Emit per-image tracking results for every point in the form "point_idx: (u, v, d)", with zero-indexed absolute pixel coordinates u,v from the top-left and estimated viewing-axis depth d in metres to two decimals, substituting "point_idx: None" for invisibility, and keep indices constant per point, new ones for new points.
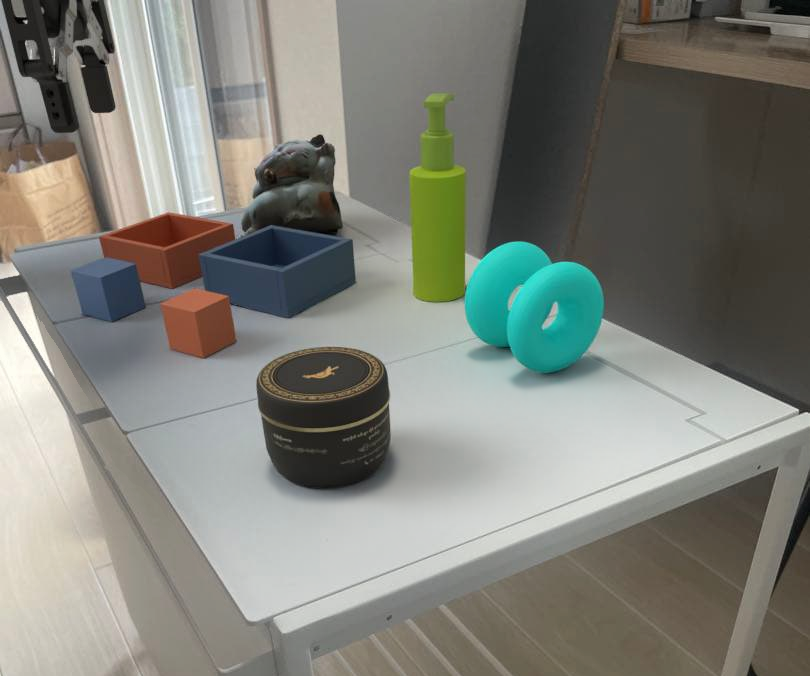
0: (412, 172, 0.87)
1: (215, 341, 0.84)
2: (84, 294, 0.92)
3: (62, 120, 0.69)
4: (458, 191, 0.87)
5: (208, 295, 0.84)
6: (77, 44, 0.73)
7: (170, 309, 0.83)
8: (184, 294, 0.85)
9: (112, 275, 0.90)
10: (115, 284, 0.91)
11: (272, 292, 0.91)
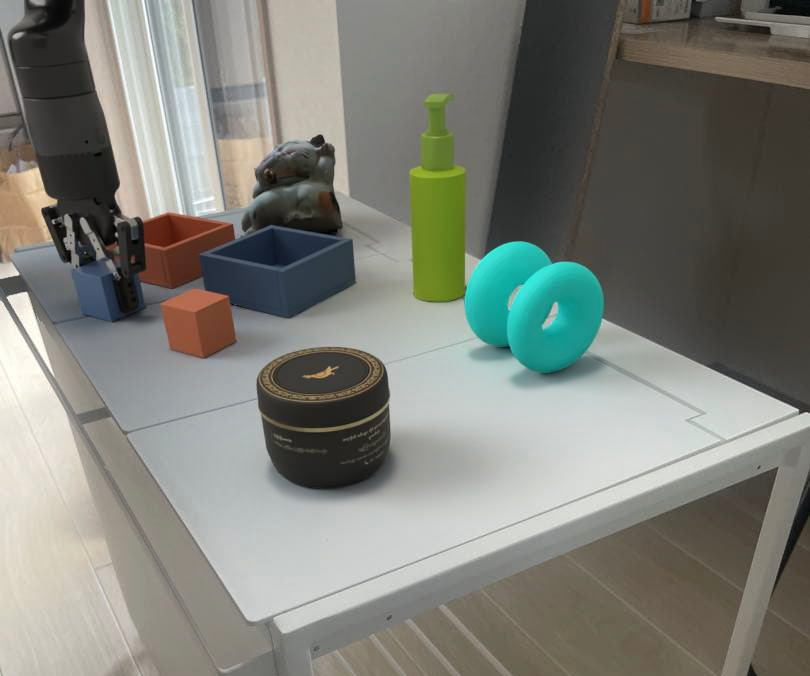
0: (412, 172, 0.87)
1: (215, 341, 0.84)
2: (84, 294, 0.92)
3: (137, 301, 0.93)
4: (458, 191, 0.87)
5: (208, 295, 0.84)
6: (84, 250, 0.92)
7: (170, 309, 0.83)
8: (184, 294, 0.85)
9: None
10: None
11: (272, 292, 0.91)
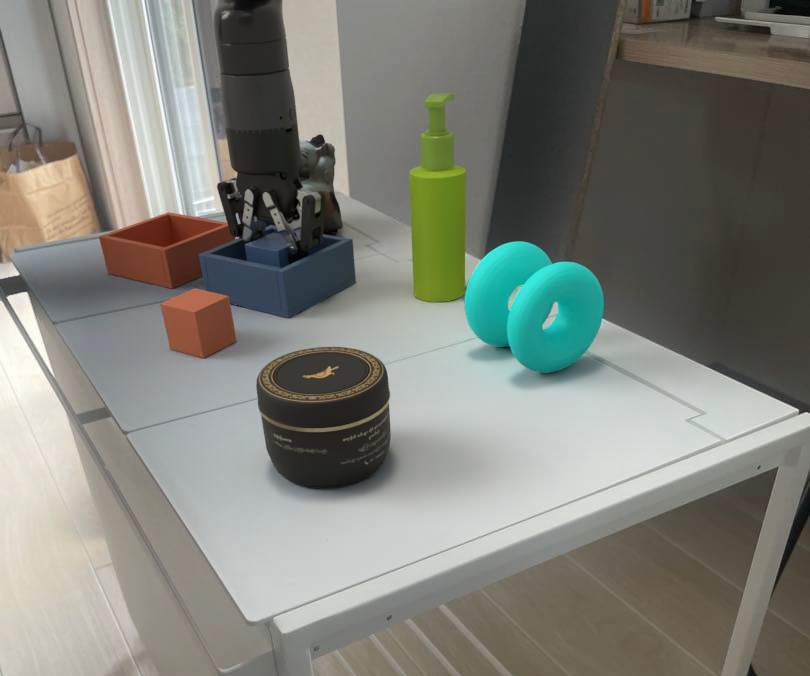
0: (412, 172, 0.87)
1: (215, 341, 0.84)
2: None
3: None
4: (458, 191, 0.87)
5: (208, 295, 0.84)
6: (257, 225, 0.94)
7: (170, 309, 0.83)
8: (184, 294, 0.85)
9: (287, 249, 0.93)
10: (288, 258, 0.94)
11: (272, 292, 0.91)
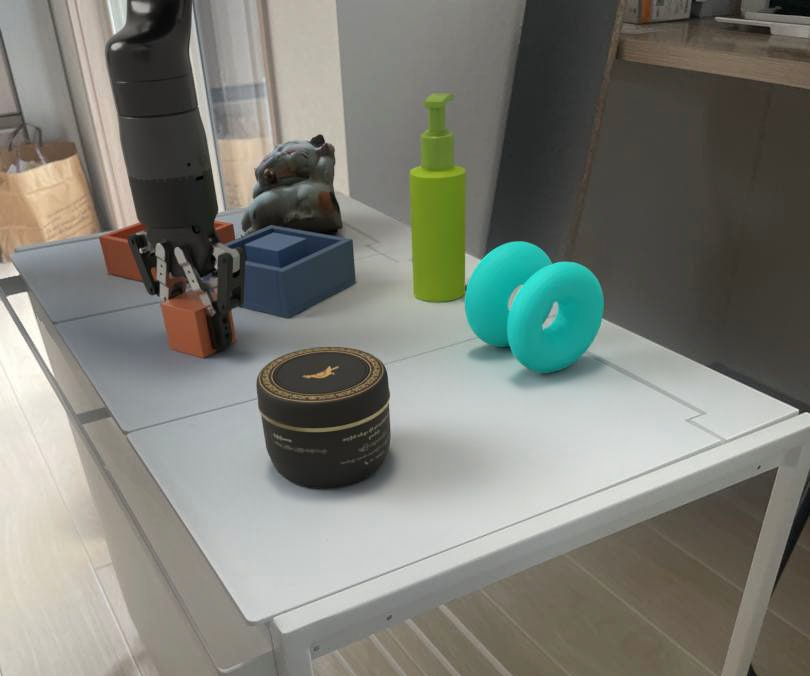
0: (412, 172, 0.87)
1: None
2: None
3: (230, 338, 0.84)
4: (458, 191, 0.87)
5: None
6: (174, 282, 0.83)
7: (170, 309, 0.83)
8: (184, 294, 0.85)
9: (287, 249, 0.93)
10: (288, 258, 0.94)
11: (272, 292, 0.91)
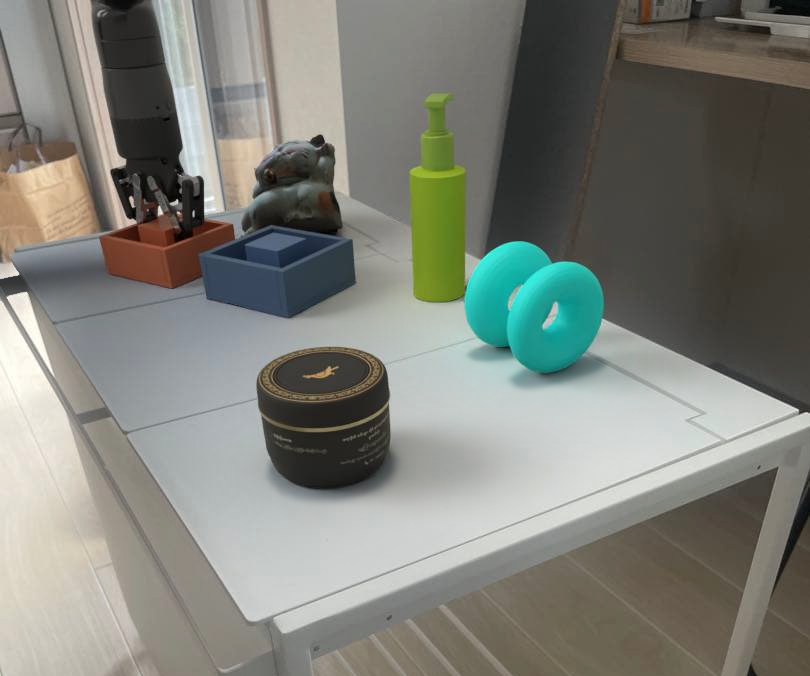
0: (412, 172, 0.87)
1: None
2: None
3: None
4: (458, 191, 0.87)
5: None
6: (148, 207, 1.03)
7: (145, 230, 1.02)
8: (157, 219, 1.05)
9: (287, 249, 0.93)
10: (288, 258, 0.94)
11: (272, 292, 0.91)
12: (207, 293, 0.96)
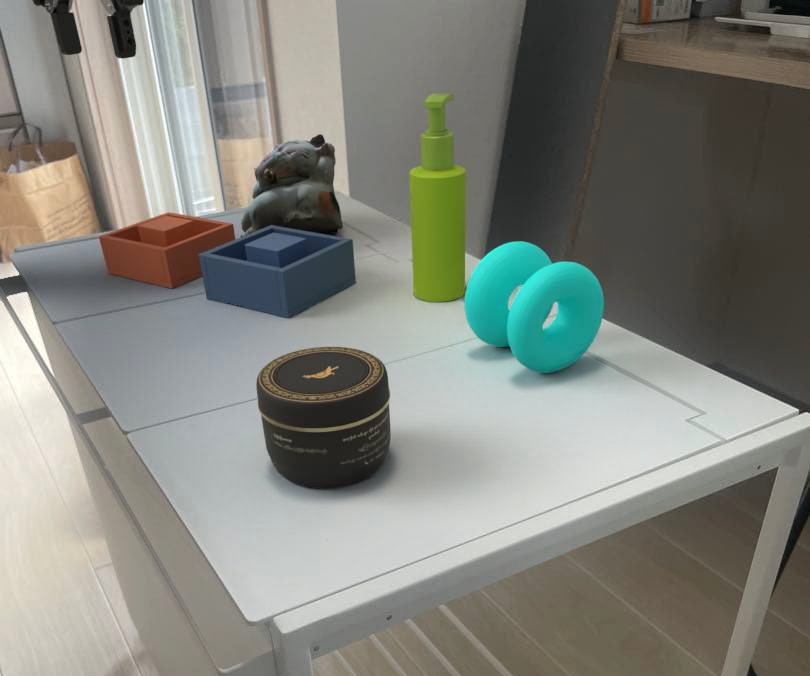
0: (412, 172, 0.87)
1: None
2: None
3: (133, 45, 0.85)
4: (458, 191, 0.87)
5: (177, 220, 1.04)
6: None
7: (145, 230, 1.02)
8: (157, 219, 1.05)
9: (287, 249, 0.93)
10: (288, 258, 0.94)
11: (272, 292, 0.91)
12: (207, 293, 0.96)
